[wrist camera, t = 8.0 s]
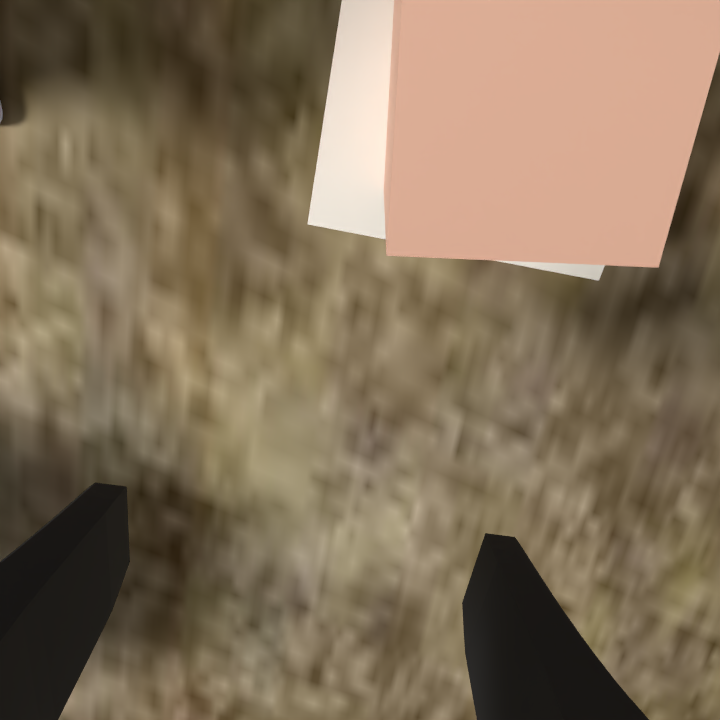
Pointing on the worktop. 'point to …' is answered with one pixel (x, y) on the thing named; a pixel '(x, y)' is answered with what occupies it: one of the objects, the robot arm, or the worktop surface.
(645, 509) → the worktop surface
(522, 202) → the terracotta cube
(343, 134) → the cream base block
